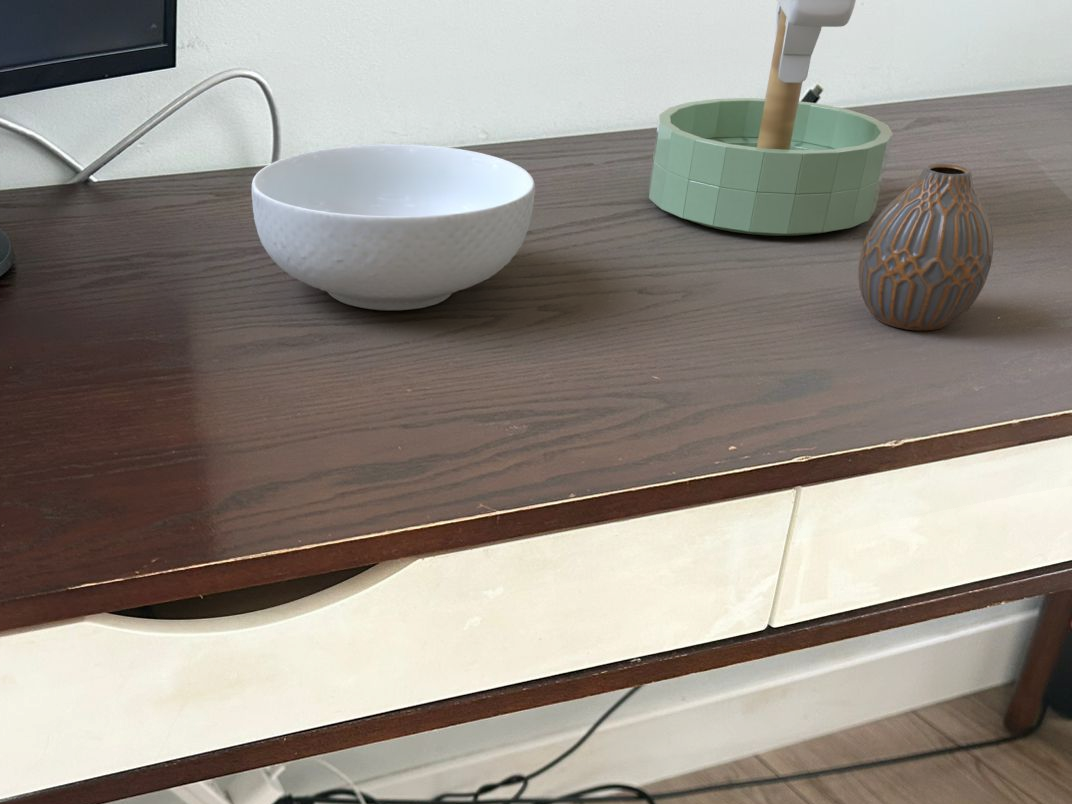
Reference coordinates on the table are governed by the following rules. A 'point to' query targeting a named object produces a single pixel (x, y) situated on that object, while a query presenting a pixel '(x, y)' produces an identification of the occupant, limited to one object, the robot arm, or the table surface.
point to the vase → (927, 252)
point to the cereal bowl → (392, 220)
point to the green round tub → (768, 168)
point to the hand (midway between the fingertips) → (787, 74)
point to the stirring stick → (778, 102)
